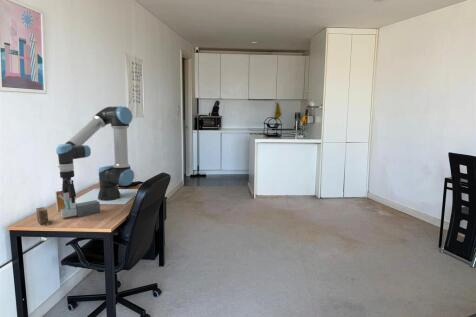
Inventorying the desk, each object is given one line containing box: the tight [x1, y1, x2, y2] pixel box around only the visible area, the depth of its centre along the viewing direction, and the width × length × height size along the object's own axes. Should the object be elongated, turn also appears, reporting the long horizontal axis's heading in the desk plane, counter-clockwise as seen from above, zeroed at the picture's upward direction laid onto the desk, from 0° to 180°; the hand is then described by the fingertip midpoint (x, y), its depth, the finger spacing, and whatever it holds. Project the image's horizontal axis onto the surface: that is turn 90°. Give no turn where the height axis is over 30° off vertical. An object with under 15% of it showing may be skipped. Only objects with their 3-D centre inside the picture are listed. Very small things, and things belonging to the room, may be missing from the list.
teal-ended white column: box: [60, 200, 78, 218], centre depth 210 cm, size 19×5×9 cm, turn 130°
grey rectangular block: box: [75, 199, 101, 218], centre depth 213 cm, size 13×7×7 cm, turn 130°
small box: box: [54, 188, 70, 212], centre depth 223 cm, size 8×6×13 cm
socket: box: [35, 206, 49, 226], centre depth 198 cm, size 4×8×8 cm, turn 40°
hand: (70, 205), depth 207 cm, fingers open, 13 cm apart
